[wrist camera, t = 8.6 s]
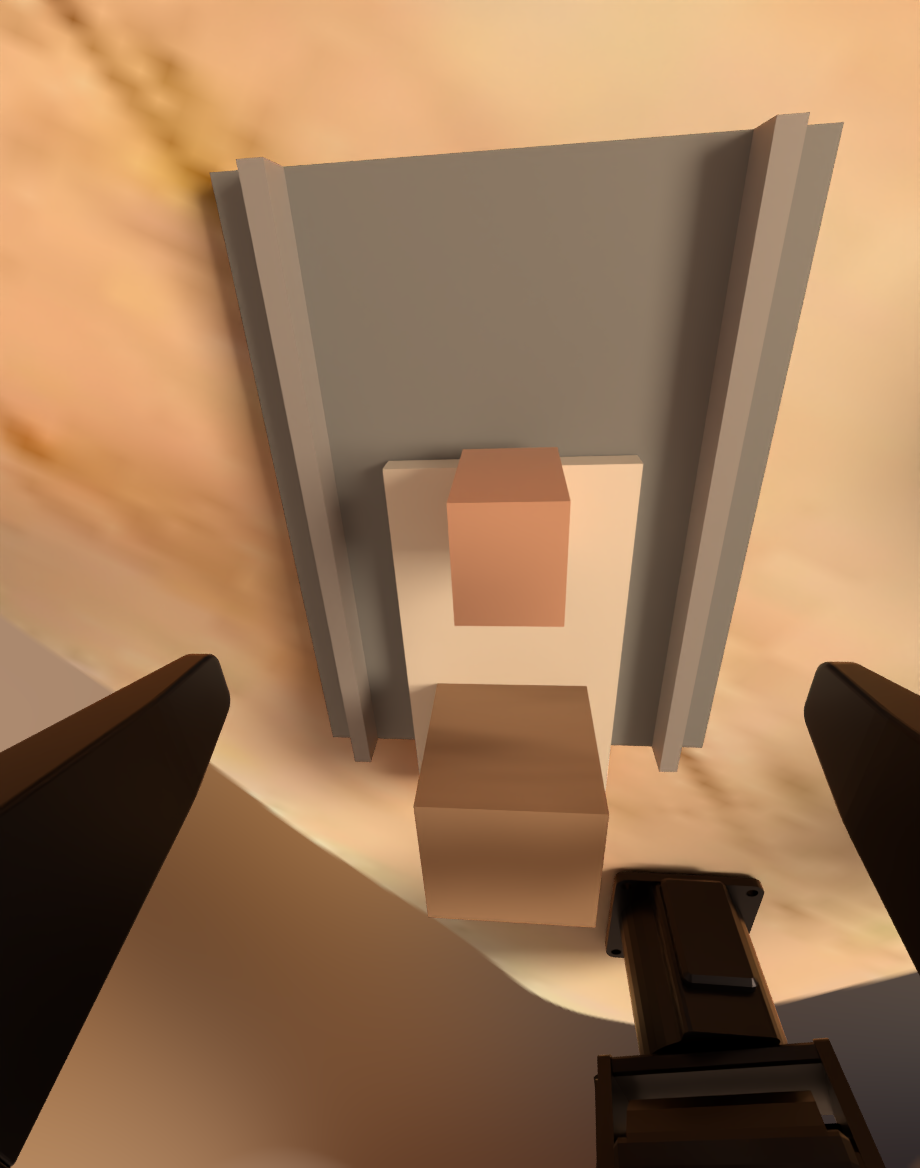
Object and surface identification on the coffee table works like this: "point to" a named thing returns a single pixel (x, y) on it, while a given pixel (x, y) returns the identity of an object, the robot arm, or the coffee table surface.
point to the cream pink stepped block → (514, 573)
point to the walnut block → (512, 805)
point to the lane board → (529, 370)
